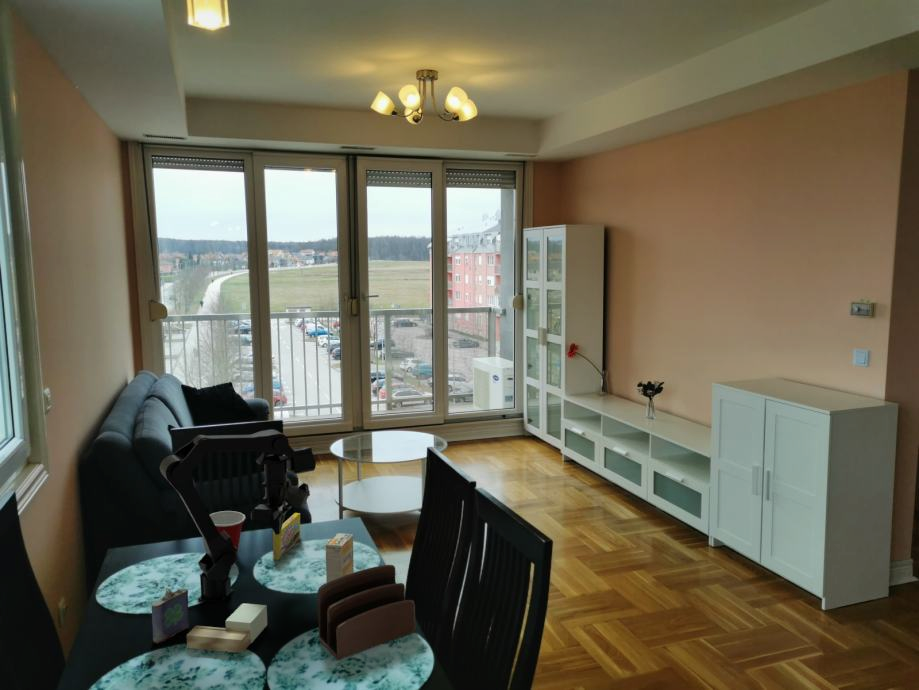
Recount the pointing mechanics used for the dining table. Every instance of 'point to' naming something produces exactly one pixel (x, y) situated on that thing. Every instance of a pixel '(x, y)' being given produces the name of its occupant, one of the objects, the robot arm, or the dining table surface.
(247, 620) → the block
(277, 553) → the candy box
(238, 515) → the plastic cup
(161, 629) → the flask
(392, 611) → the letter holder
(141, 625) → the dining table surface
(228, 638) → the wooden bar
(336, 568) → the supplement box
